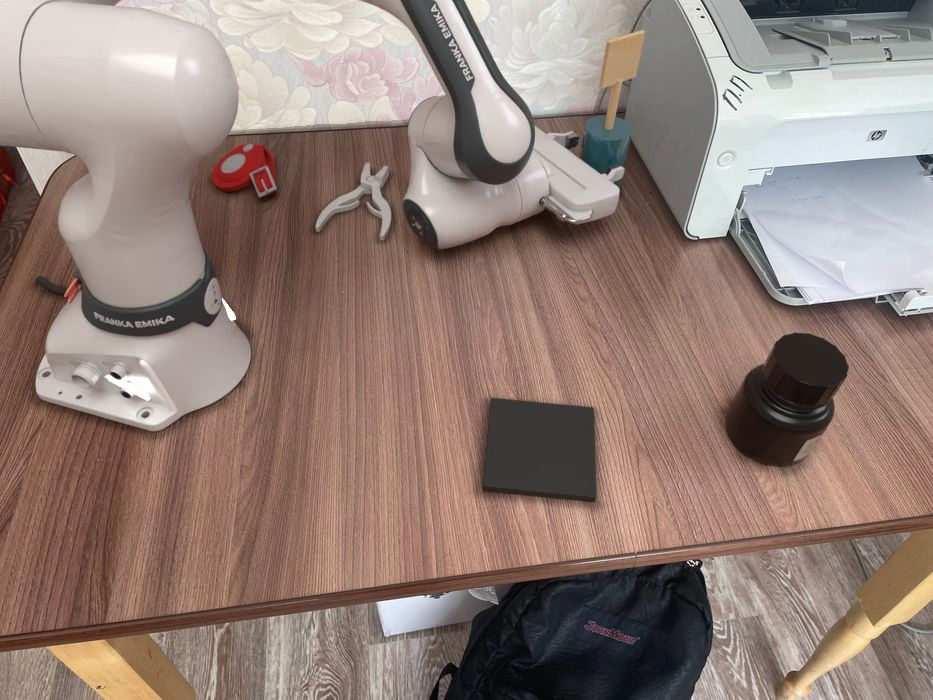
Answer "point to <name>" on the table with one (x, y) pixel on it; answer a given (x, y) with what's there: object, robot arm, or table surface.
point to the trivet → (541, 450)
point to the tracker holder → (246, 170)
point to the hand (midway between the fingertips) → (597, 153)
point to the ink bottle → (787, 400)
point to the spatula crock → (612, 106)
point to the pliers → (367, 187)
